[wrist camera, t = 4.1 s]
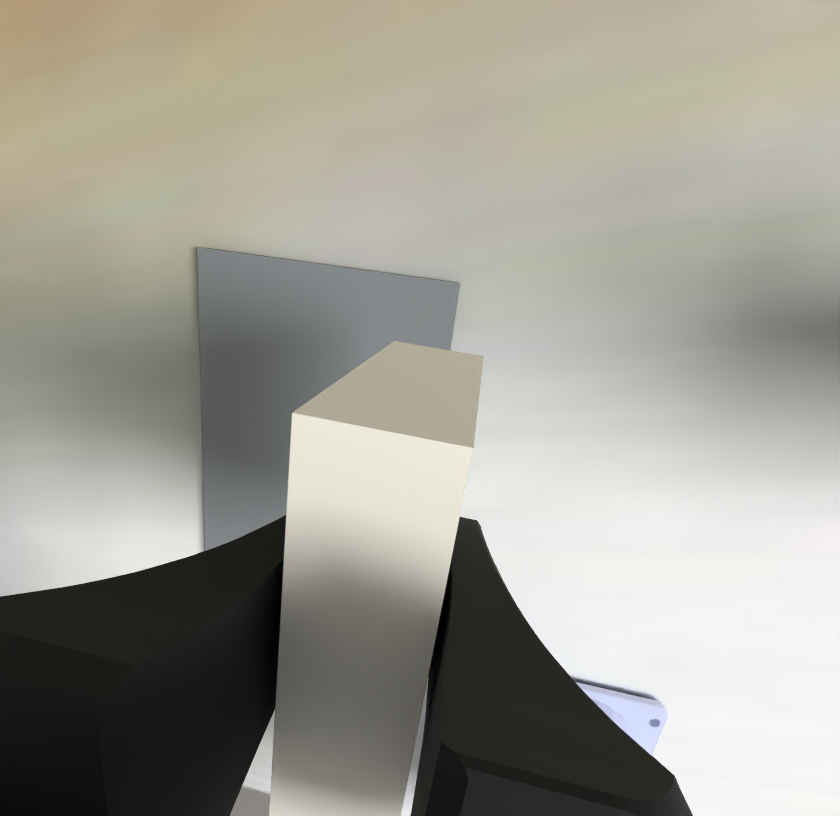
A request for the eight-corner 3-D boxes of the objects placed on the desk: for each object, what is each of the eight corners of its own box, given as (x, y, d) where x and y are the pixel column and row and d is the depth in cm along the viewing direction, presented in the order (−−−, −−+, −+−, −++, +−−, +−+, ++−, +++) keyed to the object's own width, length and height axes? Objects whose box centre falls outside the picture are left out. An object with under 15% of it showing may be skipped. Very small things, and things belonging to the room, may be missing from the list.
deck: (431, 626, 14) (387, 881, 8) (358, 609, 15) (265, 845, 9) (483, 355, 12) (472, 448, 6) (392, 340, 12) (288, 411, 6)
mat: (411, 608, 22) (409, 613, 22) (210, 563, 24) (205, 568, 23) (460, 282, 18) (459, 283, 17) (202, 247, 19) (197, 247, 18)
